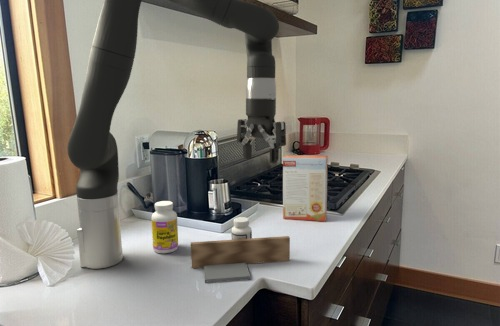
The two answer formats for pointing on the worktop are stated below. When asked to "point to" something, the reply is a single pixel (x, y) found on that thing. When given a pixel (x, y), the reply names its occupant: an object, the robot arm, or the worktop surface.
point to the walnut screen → (240, 251)
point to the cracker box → (305, 187)
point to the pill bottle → (241, 229)
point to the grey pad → (226, 272)
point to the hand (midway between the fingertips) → (260, 161)
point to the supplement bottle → (164, 228)
